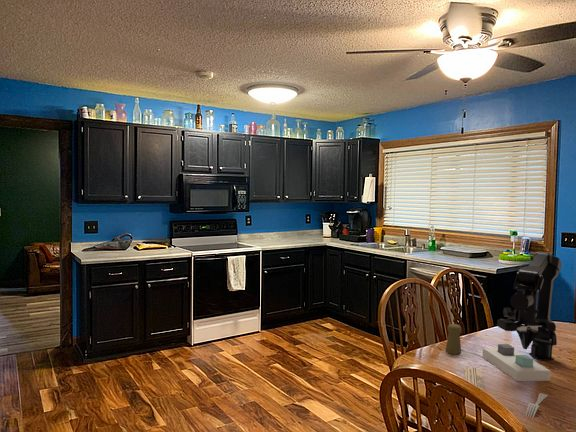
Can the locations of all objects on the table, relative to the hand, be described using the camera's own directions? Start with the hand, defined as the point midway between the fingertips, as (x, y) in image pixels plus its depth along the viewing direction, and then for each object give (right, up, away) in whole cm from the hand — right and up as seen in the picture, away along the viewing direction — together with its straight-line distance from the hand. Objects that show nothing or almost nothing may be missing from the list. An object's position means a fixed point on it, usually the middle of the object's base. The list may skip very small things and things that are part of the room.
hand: (524, 348), depth 156 cm
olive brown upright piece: (-17, -8, +21) cm, 29 cm away
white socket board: (-1, -9, +6) cm, 11 cm away
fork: (-8, -11, -22) cm, 26 cm away
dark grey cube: (-1, -6, +11) cm, 13 cm away
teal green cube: (0, -7, +1) cm, 7 cm away
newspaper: (-21, -10, -8) cm, 25 cm away
